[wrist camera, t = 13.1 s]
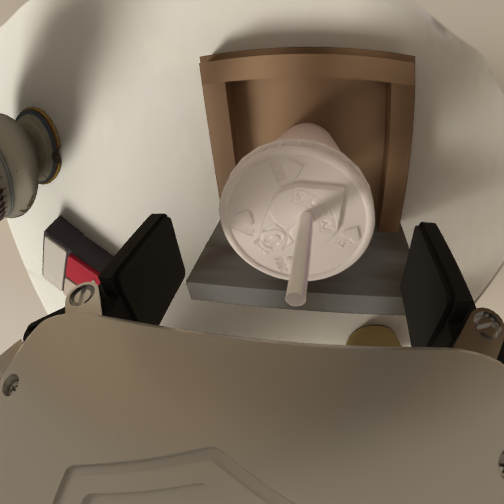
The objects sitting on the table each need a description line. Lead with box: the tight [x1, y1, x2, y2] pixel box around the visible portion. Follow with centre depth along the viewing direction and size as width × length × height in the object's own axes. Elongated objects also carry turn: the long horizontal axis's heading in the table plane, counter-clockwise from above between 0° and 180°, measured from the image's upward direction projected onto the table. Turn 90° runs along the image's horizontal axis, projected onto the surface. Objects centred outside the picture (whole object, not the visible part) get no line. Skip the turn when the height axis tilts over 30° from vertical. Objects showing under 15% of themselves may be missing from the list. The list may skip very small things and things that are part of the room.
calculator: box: [43, 216, 114, 296], centre depth 35 cm, size 11×4×15 cm
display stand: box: [186, 47, 415, 315], centre depth 16 cm, size 14×14×10 cm
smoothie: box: [219, 123, 375, 306], centre depth 13 cm, size 6×6×14 cm
